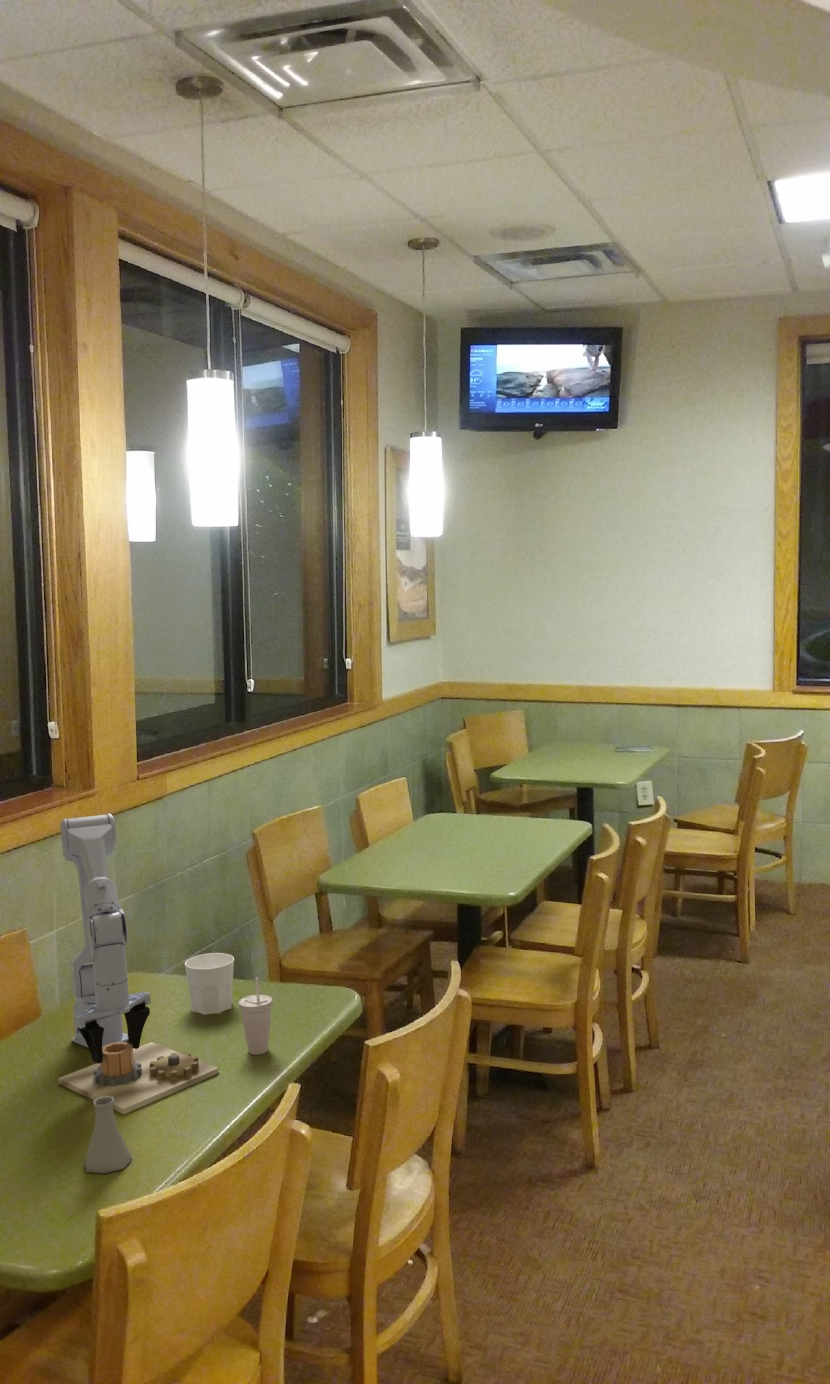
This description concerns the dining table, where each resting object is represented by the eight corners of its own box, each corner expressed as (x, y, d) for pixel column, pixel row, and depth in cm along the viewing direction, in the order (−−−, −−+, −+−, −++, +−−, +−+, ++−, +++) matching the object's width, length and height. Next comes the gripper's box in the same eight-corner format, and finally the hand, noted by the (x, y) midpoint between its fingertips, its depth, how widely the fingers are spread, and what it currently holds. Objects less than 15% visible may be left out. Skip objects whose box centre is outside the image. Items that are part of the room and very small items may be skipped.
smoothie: (269, 1058, 218) (264, 984, 216) (236, 1057, 219) (231, 983, 217) (280, 1044, 224) (275, 972, 222) (247, 1043, 225) (243, 971, 224)
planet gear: (84, 1078, 210) (82, 1050, 209) (124, 1062, 216) (122, 1035, 215) (111, 1090, 204) (109, 1061, 204) (151, 1074, 210) (149, 1046, 210)
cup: (189, 1001, 249) (186, 955, 248) (237, 997, 250) (234, 951, 249) (186, 1018, 239) (182, 971, 238) (235, 1014, 240) (233, 967, 239)
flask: (88, 1154, 184) (84, 1092, 183) (135, 1150, 185) (131, 1088, 184) (79, 1177, 177) (74, 1113, 176) (128, 1173, 178) (124, 1109, 177)
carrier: (58, 1083, 211) (56, 1059, 210) (152, 1047, 225) (150, 1024, 225) (123, 1114, 197) (122, 1088, 197) (218, 1073, 212) (217, 1049, 211)
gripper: (87, 997, 200) (93, 1074, 202) (158, 973, 211) (163, 1046, 213) (64, 988, 205) (70, 1064, 207) (135, 965, 216) (140, 1037, 217)
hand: (116, 1054), depth 210 cm, fingers open, 7 cm apart
